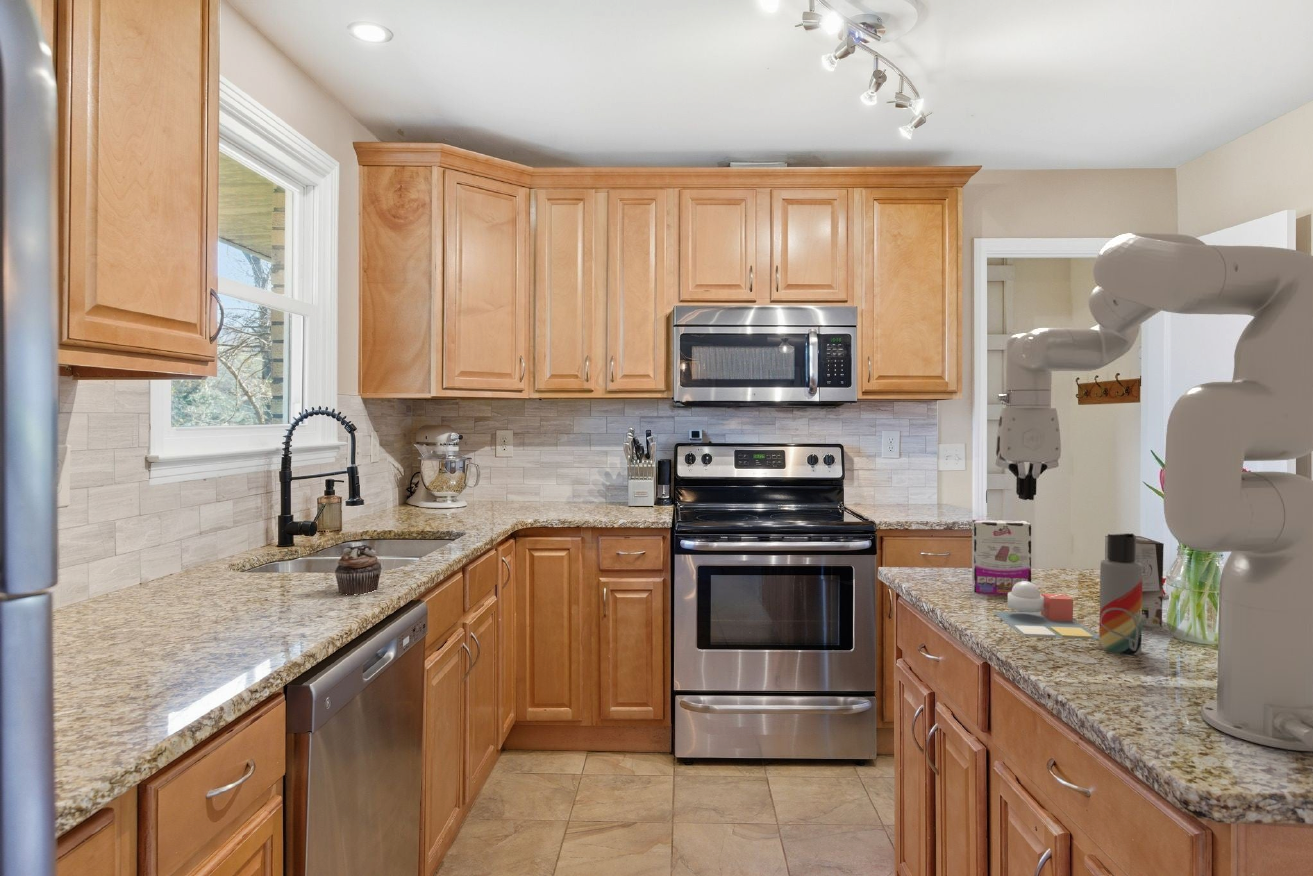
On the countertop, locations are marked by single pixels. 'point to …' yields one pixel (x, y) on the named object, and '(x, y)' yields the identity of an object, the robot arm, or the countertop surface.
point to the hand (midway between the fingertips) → (1026, 498)
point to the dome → (1025, 598)
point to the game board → (1045, 618)
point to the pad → (1071, 632)
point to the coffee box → (1149, 578)
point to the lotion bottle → (1121, 597)
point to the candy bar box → (1000, 555)
